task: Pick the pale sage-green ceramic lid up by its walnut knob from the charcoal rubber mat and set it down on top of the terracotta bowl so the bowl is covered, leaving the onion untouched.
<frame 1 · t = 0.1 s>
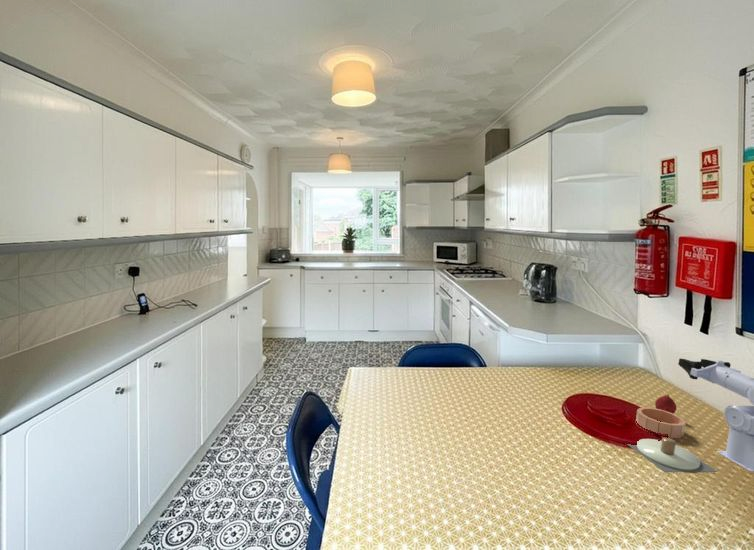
hand: (690, 361, 123), 22 cm above the table, tool horizontal, fingers open, 7 cm apart
bowl: (658, 429, 122), on the table
mat: (666, 456, 106), on the table
lid: (666, 455, 106), resting on mat
onion: (664, 417, 132), on the table
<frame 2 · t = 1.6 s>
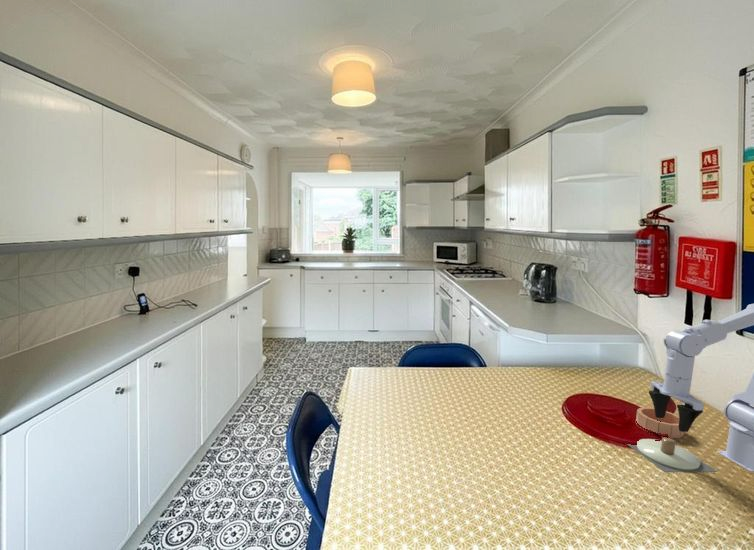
hand: (671, 423, 105), 9 cm above the table, tool pointing down, fingers open, 7 cm apart
nothing on the table moved.
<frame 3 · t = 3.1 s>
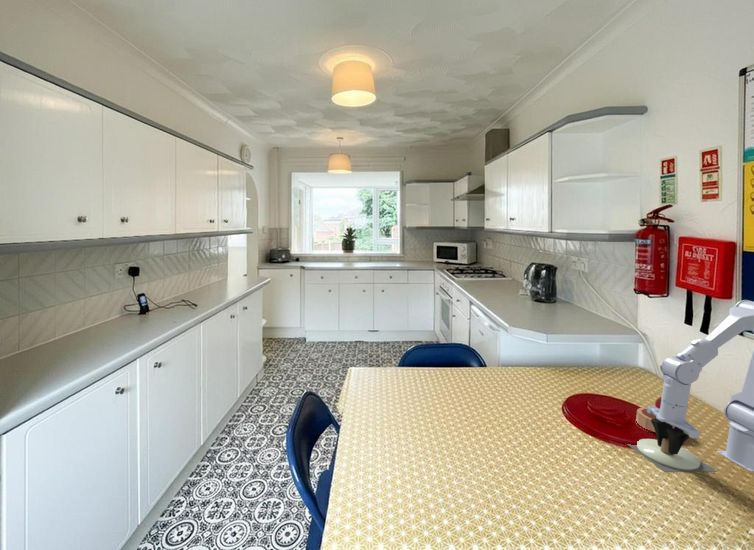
hand: (667, 449, 106), 2 cm above the table, tool pointing down, fingers closed on lid, 3 cm apart
lid: (666, 454, 106), resting on mat, touching gripper
everything else where it was.
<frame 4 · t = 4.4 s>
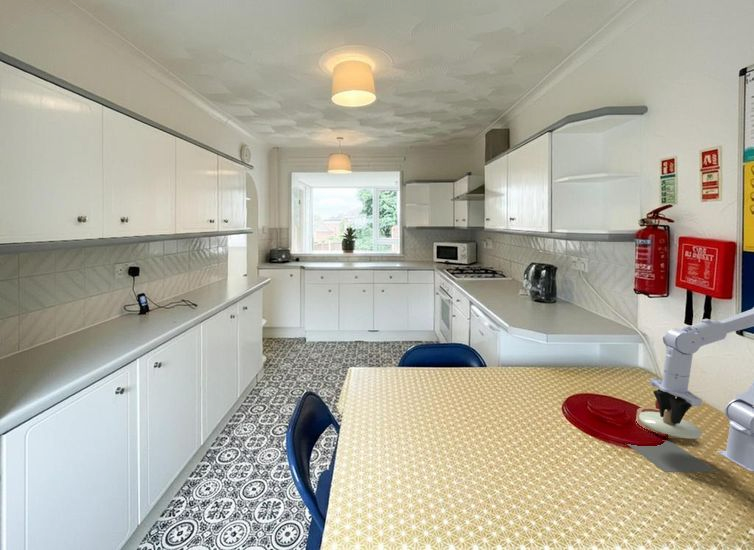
hand: (669, 419, 108), 9 cm above the table, tool pointing down, fingers closed on lid, 3 cm apart
lid: (668, 425, 108), point 8 cm above the table, touching gripper
everything else where it was.
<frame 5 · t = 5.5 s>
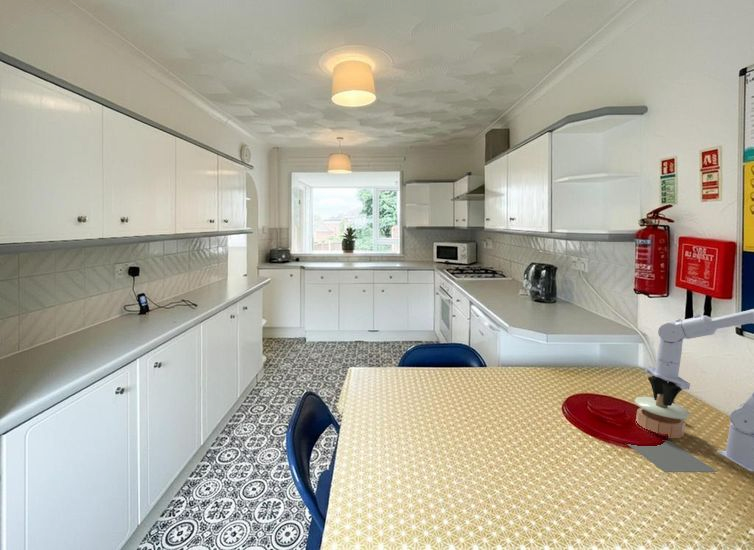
hand: (662, 402, 121), 9 cm above the table, tool pointing down, fingers closed on lid, 3 cm apart
lid: (661, 408, 122), point 7 cm above the table, touching gripper
everything else where it was.
when the fingers open (7 cm above the table, at t = 6.1 s): lid stays where it is, resting on bowl.
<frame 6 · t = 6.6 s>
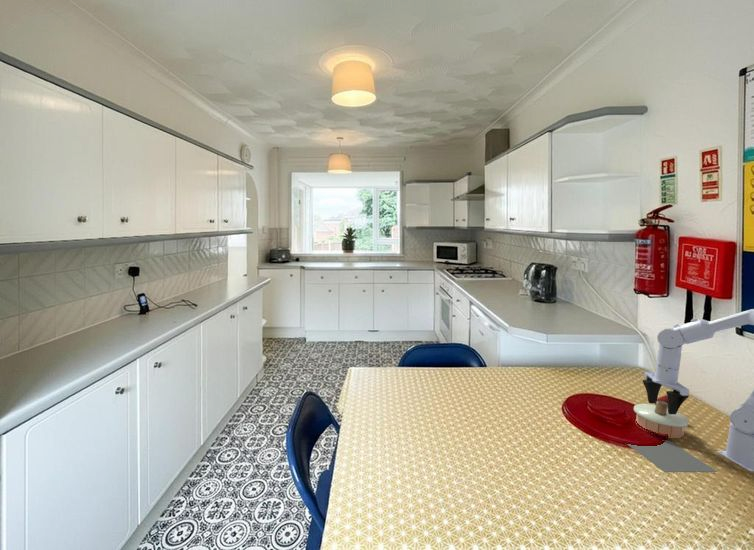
hand: (661, 408, 122), 7 cm above the table, tool pointing down, fingers open, 7 cm apart
lid: (660, 415, 122), point 4 cm above the table, touching bowl
everything else where it was.
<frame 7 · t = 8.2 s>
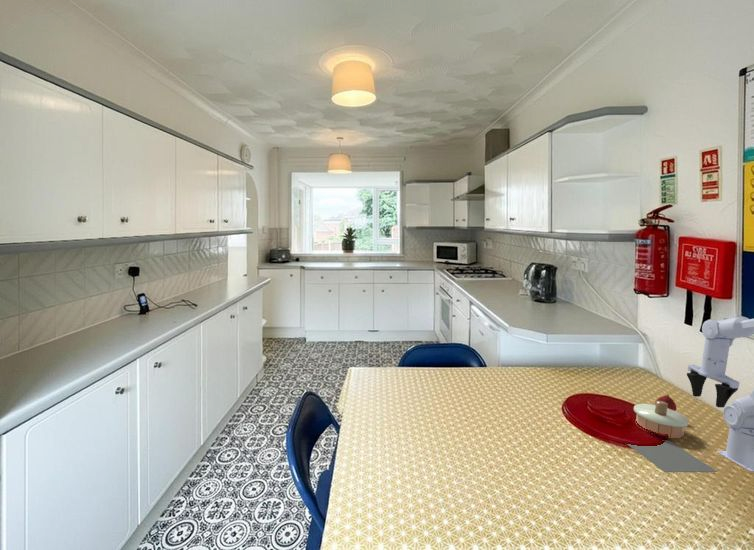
hand: (708, 401, 121), 10 cm above the table, tool pointing down, fingers open, 7 cm apart
nothing on the table moved.
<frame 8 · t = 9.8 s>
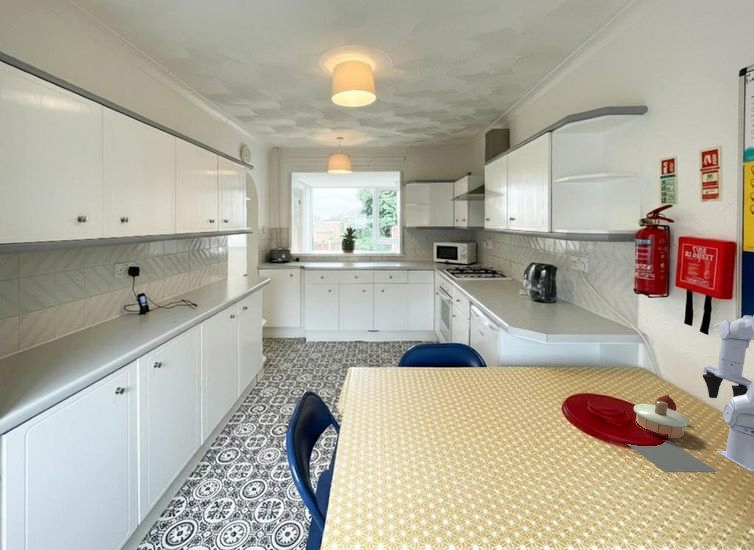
hand: (724, 402, 120), 10 cm above the table, tool pointing down, fingers open, 7 cm apart
nothing on the table moved.
at the end: lid 0.2 cm off-centre on the bowl, point 4.5 cm above the bowl's base; lid tilted 0°; the gripper is holding nothing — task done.
